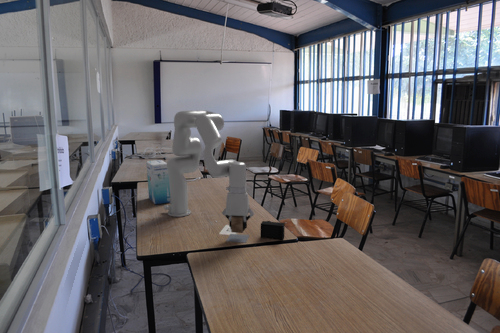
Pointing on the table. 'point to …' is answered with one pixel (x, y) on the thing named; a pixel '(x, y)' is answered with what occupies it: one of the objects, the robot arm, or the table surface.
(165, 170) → the toothbrush box
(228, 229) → the card
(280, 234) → the digital camera
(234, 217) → the walnut block
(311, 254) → the table surface
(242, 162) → the robot arm
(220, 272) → the table surface
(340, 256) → the table surface
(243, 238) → the rubber mat
